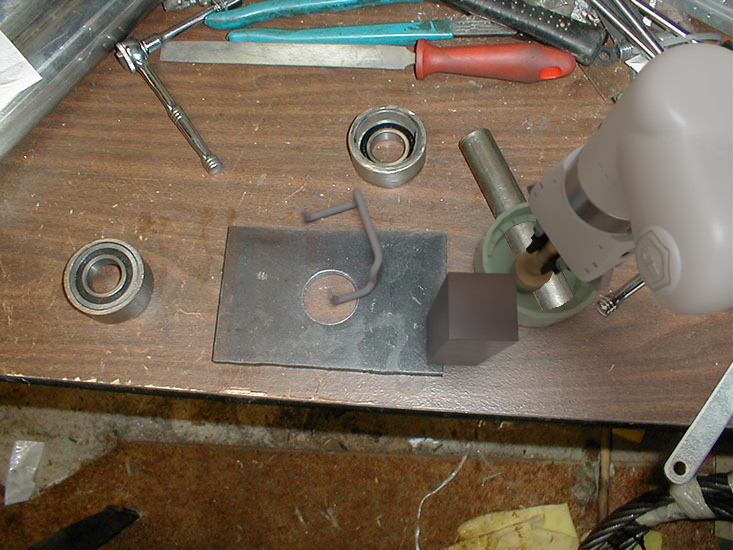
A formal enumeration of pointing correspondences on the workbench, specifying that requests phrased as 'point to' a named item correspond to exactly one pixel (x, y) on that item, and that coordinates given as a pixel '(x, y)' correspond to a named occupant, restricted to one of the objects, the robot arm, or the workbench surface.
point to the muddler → (533, 268)
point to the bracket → (372, 236)
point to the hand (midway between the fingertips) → (545, 255)
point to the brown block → (472, 318)
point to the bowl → (500, 257)
